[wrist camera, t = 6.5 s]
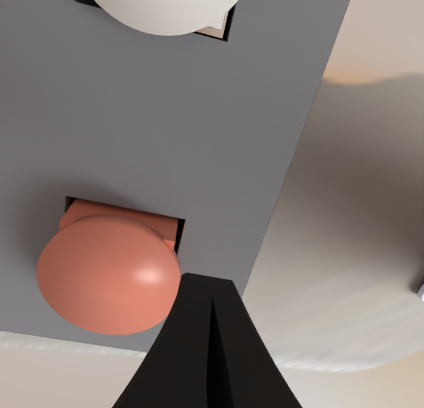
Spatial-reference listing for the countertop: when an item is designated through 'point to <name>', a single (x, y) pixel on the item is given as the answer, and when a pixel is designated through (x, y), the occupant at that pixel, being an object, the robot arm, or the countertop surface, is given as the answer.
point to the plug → (168, 14)
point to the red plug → (111, 268)
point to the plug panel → (149, 134)
